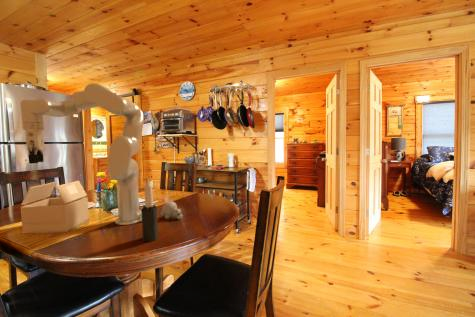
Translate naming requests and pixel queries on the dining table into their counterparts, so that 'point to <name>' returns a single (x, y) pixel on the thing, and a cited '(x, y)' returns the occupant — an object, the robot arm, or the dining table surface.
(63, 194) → the flap
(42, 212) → the carton
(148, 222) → the candle
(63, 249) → the dining table surface
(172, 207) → the chubby cartoon animal
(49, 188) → the flap
